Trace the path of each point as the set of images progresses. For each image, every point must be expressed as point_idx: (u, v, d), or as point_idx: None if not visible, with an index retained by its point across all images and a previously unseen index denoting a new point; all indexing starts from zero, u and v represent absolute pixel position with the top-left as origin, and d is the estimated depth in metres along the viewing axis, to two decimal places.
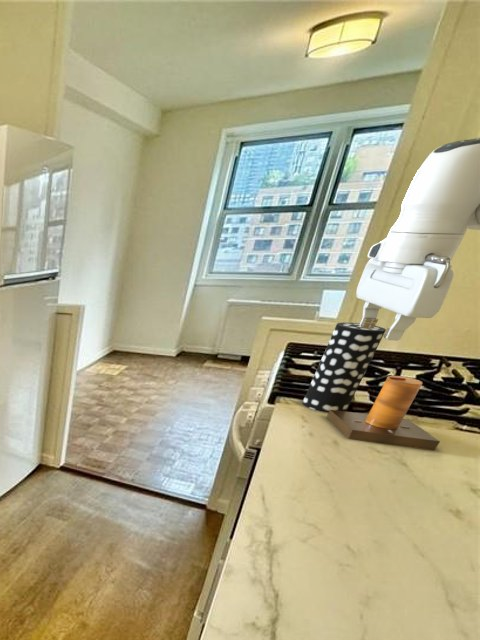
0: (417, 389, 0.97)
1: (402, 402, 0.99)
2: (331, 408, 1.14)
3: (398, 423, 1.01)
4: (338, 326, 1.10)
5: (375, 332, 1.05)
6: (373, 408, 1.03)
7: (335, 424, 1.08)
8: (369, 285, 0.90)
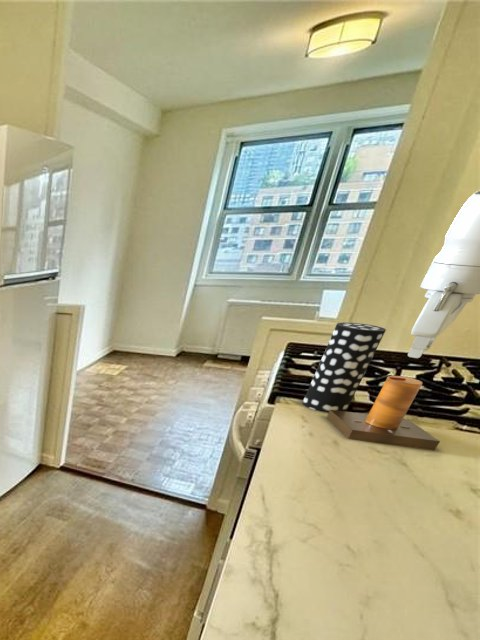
0: (417, 389, 0.97)
1: (402, 402, 0.99)
2: (331, 408, 1.14)
3: (398, 423, 1.01)
4: (338, 326, 1.10)
5: (375, 332, 1.05)
6: (373, 408, 1.03)
7: (335, 424, 1.08)
8: None
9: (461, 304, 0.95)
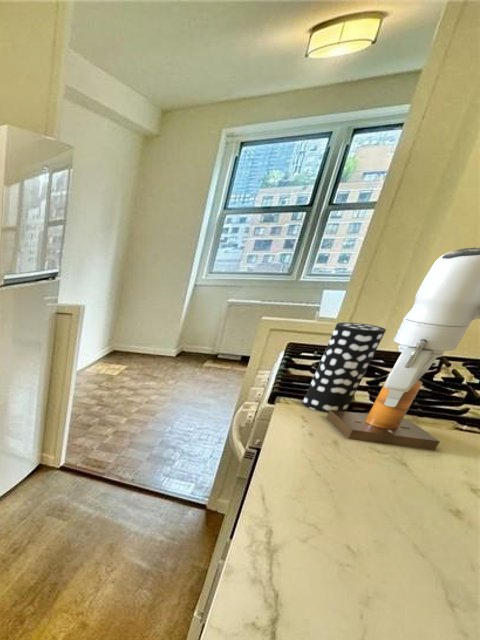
0: (417, 389, 0.97)
1: (402, 402, 0.99)
2: (331, 408, 1.14)
3: (398, 423, 1.01)
4: (338, 326, 1.10)
5: (375, 332, 1.05)
6: (373, 408, 1.03)
7: (335, 424, 1.08)
8: None
9: None
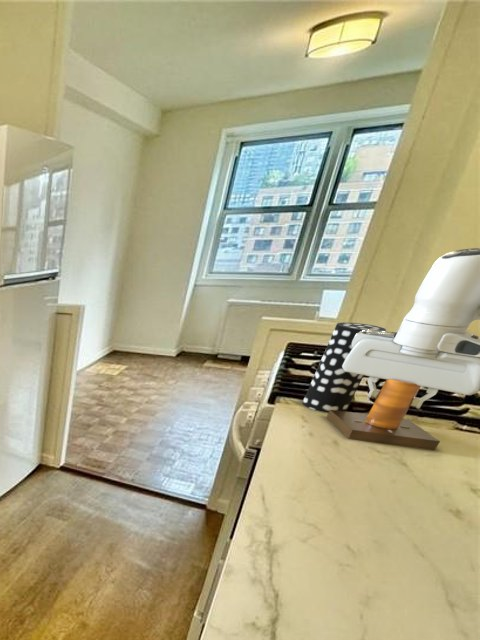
0: (393, 386, 0.99)
1: (379, 396, 1.02)
2: (331, 408, 1.14)
3: (375, 419, 1.02)
4: (338, 326, 1.10)
5: None
6: None
7: (335, 424, 1.08)
8: None
9: (469, 371, 0.91)
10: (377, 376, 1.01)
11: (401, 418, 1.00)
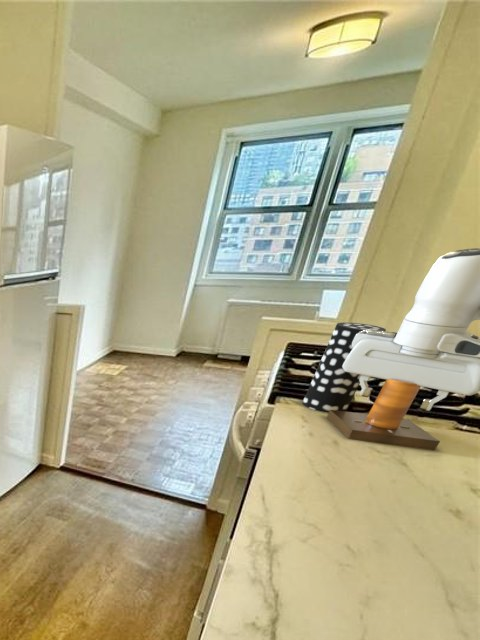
0: (393, 386, 0.99)
1: (379, 396, 1.02)
2: (331, 408, 1.14)
3: (375, 419, 1.02)
4: (338, 326, 1.10)
5: None
6: None
7: (335, 424, 1.08)
8: None
9: (469, 371, 0.91)
10: (377, 376, 1.01)
11: (401, 418, 1.00)
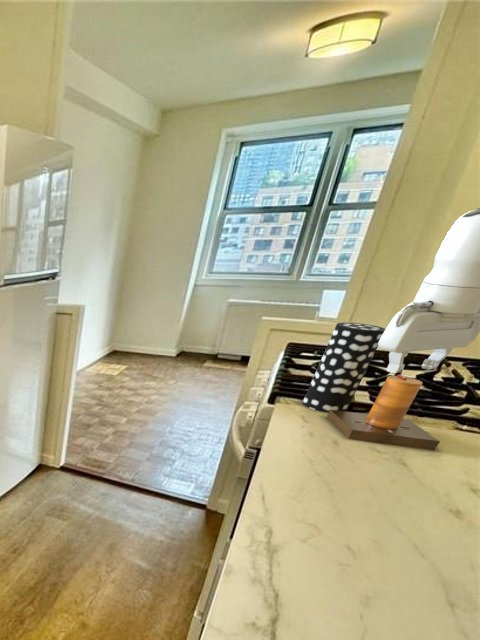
0: (393, 386, 0.99)
1: (379, 396, 1.02)
2: (331, 408, 1.14)
3: (375, 419, 1.02)
4: (338, 326, 1.10)
5: (375, 332, 1.05)
6: None
7: (335, 424, 1.08)
8: None
9: (473, 326, 0.94)
10: (418, 349, 0.93)
11: (401, 418, 1.00)
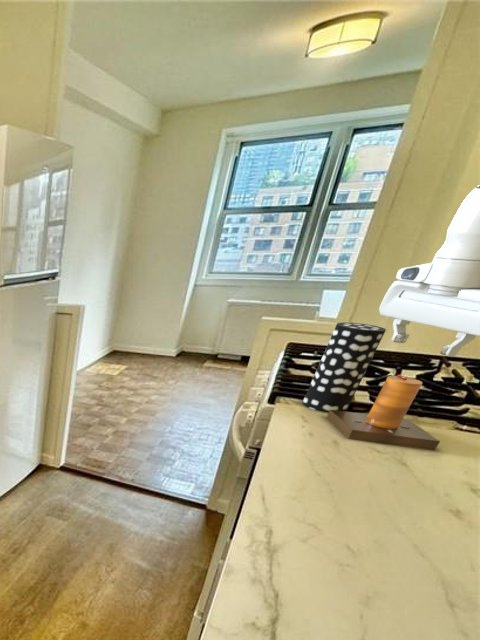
0: (393, 386, 0.99)
1: (379, 396, 1.02)
2: (331, 408, 1.14)
3: (375, 419, 1.02)
4: (338, 326, 1.10)
5: (375, 332, 1.05)
6: None
7: (335, 424, 1.08)
8: (402, 304, 0.98)
9: None
10: None
11: (401, 418, 1.00)
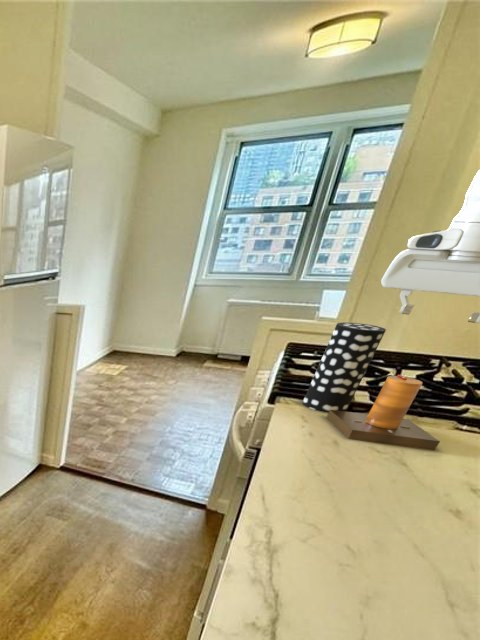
0: (393, 386, 0.99)
1: (379, 396, 1.02)
2: (331, 408, 1.14)
3: (375, 419, 1.02)
4: (338, 326, 1.10)
5: (375, 332, 1.05)
6: None
7: (335, 424, 1.08)
8: (413, 274, 0.93)
9: None
10: None
11: (401, 418, 1.00)
